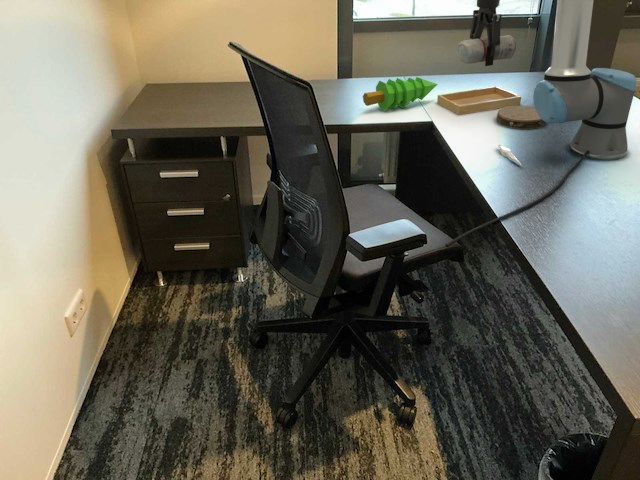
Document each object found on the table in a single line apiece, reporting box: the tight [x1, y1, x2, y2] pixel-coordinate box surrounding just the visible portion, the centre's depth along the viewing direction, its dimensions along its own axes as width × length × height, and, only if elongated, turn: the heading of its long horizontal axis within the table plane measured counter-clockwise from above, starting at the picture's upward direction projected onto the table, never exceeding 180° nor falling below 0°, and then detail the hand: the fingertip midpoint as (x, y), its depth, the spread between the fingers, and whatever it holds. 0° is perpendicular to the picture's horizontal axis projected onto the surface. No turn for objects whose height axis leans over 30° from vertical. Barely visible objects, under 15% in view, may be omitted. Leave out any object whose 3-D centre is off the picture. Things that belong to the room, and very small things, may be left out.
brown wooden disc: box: [496, 105, 547, 130], centre depth 187 cm, size 16×16×3 cm
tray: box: [436, 85, 522, 116], centre depth 206 cm, size 26×16×3 cm, turn 108°
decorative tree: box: [362, 76, 439, 112], centre depth 206 cm, size 11×12×30 cm
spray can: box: [456, 34, 517, 65], centre depth 197 cm, size 8×8×20 cm
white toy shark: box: [497, 144, 523, 167], centre depth 161 cm, size 15×3×2 cm, turn 9°
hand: (482, 62), depth 199 cm, fingers closed on spray can, 8 cm apart
